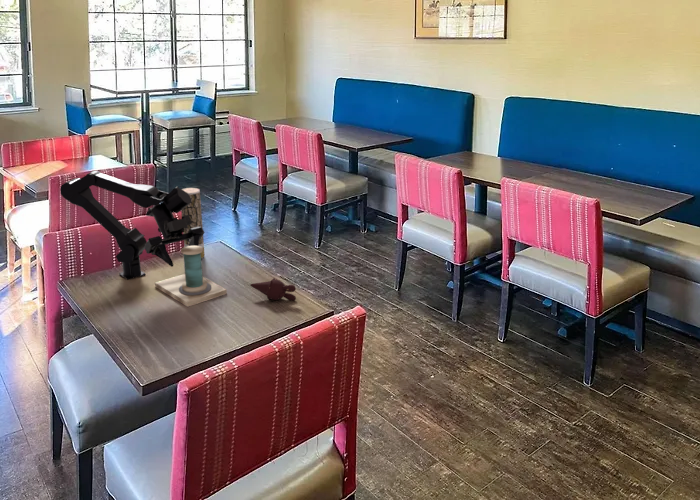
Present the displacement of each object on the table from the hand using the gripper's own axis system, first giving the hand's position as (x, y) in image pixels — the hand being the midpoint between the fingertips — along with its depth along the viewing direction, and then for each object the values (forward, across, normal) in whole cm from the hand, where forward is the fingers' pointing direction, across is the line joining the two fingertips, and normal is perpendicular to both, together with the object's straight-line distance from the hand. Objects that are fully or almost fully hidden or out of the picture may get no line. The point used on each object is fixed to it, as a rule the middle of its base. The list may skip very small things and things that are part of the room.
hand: (185, 262), depth 204 cm
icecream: (+24, +16, -10) cm, 30 cm away
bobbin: (+8, 0, +2) cm, 8 cm away
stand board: (+7, 0, +6) cm, 9 cm away
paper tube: (-10, +16, +23) cm, 30 cm away
